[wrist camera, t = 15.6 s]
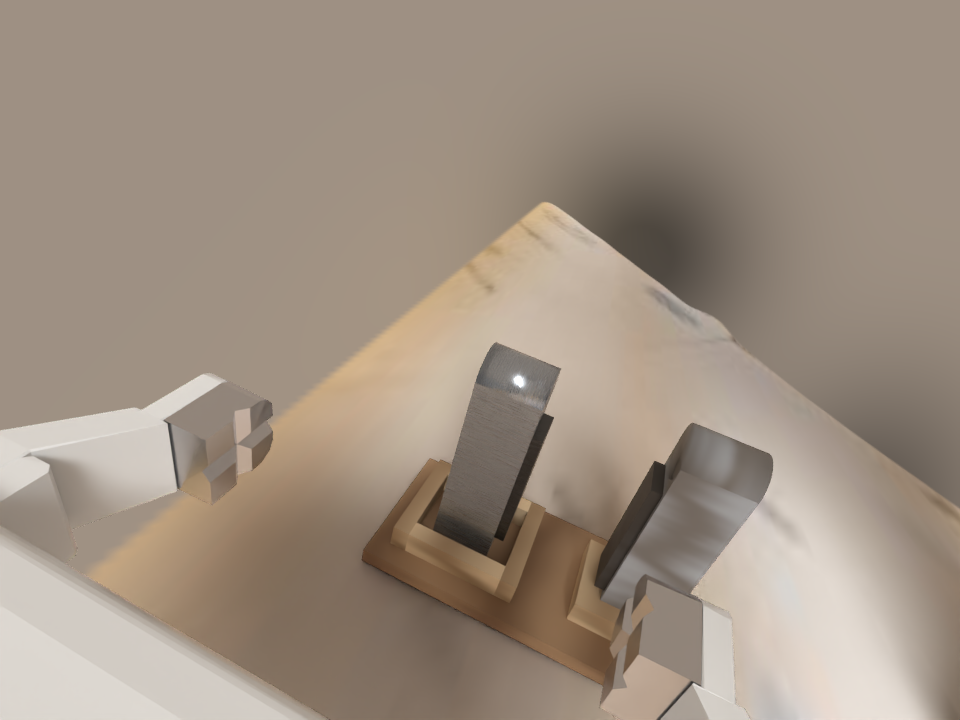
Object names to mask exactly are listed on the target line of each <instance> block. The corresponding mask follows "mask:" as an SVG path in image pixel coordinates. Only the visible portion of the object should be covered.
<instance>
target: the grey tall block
mask: <svg viewBox="0 0 960 720" xmlns="http://www.w3.org/2000/svg"><path fill="white" fill-rule="evenodd" d="M560 371H561V369H560V368H558V367H556V366H553V365H551V364H548V363H546V362H543V361H541V360H538V359H536V358H533V357H531V356H528V355H526V354H524V353H521V352H519V351H516V350H514V349H511V348H509V347H506V346H504V345H501V344H499V343H494V344H493V345H492V347H491V348H490V350H489V352H488V353H487V355H486V357H485V359H484V361H483V364H482V366H481V368H480V371H479V373H478V376H477V379H476V382H475V386H474V389H473V393H472V396H471V400H470V403H469V407H468V410H467V414H466V417H465V421H464V424H463V428H462V431H461V434H460V438H459V441H458V445H457V448H456V452H455V455H454V459H453V462H452V466H451V469H450V473H449V476H448V480H447V483H446V487H445V490H444V494H443V497H442V501H441V504H440V508H439V511H438V515H437V518H436V521H435V525H434V528H433V531H435V532H437V533H439V534H441V535H443V536H445V537H447V538H449V539H451V540H453V541H455V542H457V543H459V544H462V545H464V546H466V547H468V548H470V549H472V550H474V551H476V552H478V553H480V554H482V555H484V556H487V554H488V552H489V550H490V547H491V545H492V543H493V541H494V538H497V539H499V540H501V541H504V538H505V536H506V534H507V531H508V529H509V527H510V524H511V522H512V520H513V517H514V515H515V513H516V510H517V508H518V505H519V503H520V500H521V498H522V495H523V493H524V490H525V488H526V485H527V483H528V481H529V478H530V476H531V473H532V471H533V468H534V466H535V463H536V461H537V458H538V456H539V453H540V451H541V449H542V446H543V444H544V441H545V439H546V436H547V434H548V431H549V429H550V426H551V424H552V422H553V419H554V417H551V416H549V415H547V414H544V412H545V410H546V407H547V405H548V402H549V400H550V397H551V394H552V392H553V389H554V387H555V384H556V382H557V379H558V376H559V374H560Z"/></svg>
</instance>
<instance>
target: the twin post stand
mask: <svg viewBox="0 0 960 720" xmlns="http://www.w3.org/2000/svg"><path fill="white" fill-rule="evenodd" d="M451 466H452V465H451V464H449V463H447V462H445V461H443V460H440V461H439V462H437V461H435V460H433V459H431V458H430V459H429V460H428V462H427V463H426V464H425V466H424V467H423V468H422V470H421V471H420V473H419V474H418V475H417V477H416V478H415V479H414V481H413V482H412V484H411V485H410V486H409V488H408V489H407V490H406V492H405V493H404V495H403V496H402V497H401V499H400V500H399V502H398V503H397V504H396V506H395V507H394V508H393V510H392V511H391V513H390V514H389V515H388V517H387V518H386V519H385V521H384V522H383V524H382V525H381V526H380V528H379V529H378V530H377V532H376V533H375V535H374V536H373V537H372V539H371V540H370V541H369V543H368V544H367V546H366V547H365V548H364V550H363V556H362V560H363V561H365V562H366V563H368V564H370V565H372V566H374V567H376V568H378V569H380V570H382V571H384V572H386V573H388V574H390V575H391V576H393V577H395V578H397V579H399V580H401V581H403V582H405V583H407V584H409V585H411V586H413V587H415V588H416V589H418V590H420V591H422V592H424V593H426V594H428V595H430V596H432V597H434V598H436V599H438V600H440V601H441V602H443V603H445V604H447V605H449V606H451V607H453V608H455V609H457V610H459V611H461V612H463V613H465V614H467V615H468V616H470V617H472V618H474V619H476V620H478V621H480V622H482V623H484V624H486V625H488V626H490V627H492V628H493V629H495V630H497V631H499V632H501V633H503V634H505V635H507V636H509V637H511V638H513V639H515V640H517V641H518V642H520V643H522V644H524V645H526V646H528V647H530V648H532V649H534V650H536V651H538V652H540V653H542V654H543V655H545V656H547V657H549V658H551V659H553V660H555V661H557V662H559V663H561V664H563V665H565V666H567V667H569V668H570V669H572V670H574V671H576V672H578V673H580V674H582V675H584V676H586V677H588V678H590V679H592V680H594V681H595V682H597V683H599V684H601V685H603V683H604V677H605V671H606V670H607V668H608V667H609V665H610V664H611V662H612V661H613V659H614V658H613V656H612V653H611V651H610V643H611V637H612V633H613V629H614V625H615V622H616V620H617V617H618V615H619V612H620V610H621V608H622V607H623V605H624V603H625V601H626V600H627V599H630V598H634V594H635V587H636V584H637V583H638V581H639V580H640V578H641V577H642V576H643V575H645V574H647V575H649V576H651V577H653V578H656V579H658V580H660V581H662V582H665V583H667V584H669V585H671V586H673V587H676V588H678V589H680V590H682V591H685V592H687V593H689V594H690V592H691V591H692V590H693V589H694V587H695V586H696V585H697V583H698V582H699V581H700V579H701V578H702V577H703V576H704V574H705V573H706V572H707V570H708V569H709V568H710V566H711V565H712V564H713V563H714V561H715V560H716V559H717V557H718V556H719V555H720V553H721V552H722V551H723V550H724V548H725V547H726V546H727V544H728V543H729V542H730V540H731V539H732V538H733V537H734V535H735V534H736V533H737V531H738V530H739V529H740V527H741V526H742V525H743V524H744V522H745V521H746V520H747V518H748V517H749V516H750V514H751V513H752V512H753V511H754V509H755V508H756V507H757V505H758V504H759V503H760V501H761V500H762V498H763V497H764V495H765V493H766V491H767V488H768V486H769V483H770V480H771V476H772V471H773V459H772V456H771V455H770V454H768V453H766V452H764V451H761V450H759V449H756V448H754V447H751V446H749V445H746V444H744V443H741V442H739V441H737V440H734V439H732V438H729V437H727V436H724V435H722V434H719V433H717V432H715V431H712V430H710V429H707V428H705V427H702V426H700V425H697V424H695V423H691V424H690V425H689V426H688V427H687V428H686V430H685V431H684V433H683V434H682V436H681V438H680V439H679V441H678V443H677V445H676V446H675V448H674V450H673V451H672V453H671V455H670V456H669V458H668V460H667V461H666V463H665V465H663V464H661V463H659V462H656V461H654V463H653V465H652V466H651V468H650V470H649V472H648V473H647V475H646V477H645V479H644V480H643V482H642V484H641V486H640V487H639V489H638V491H637V493H636V494H635V496H634V498H633V499H632V501H631V503H630V505H629V506H628V508H627V510H626V512H625V513H624V515H623V517H622V519H621V520H620V522H619V524H618V526H617V527H616V529H615V531H614V533H613V534H612V536H611V538H610V539H609V541H607V540H605V539H603V538H600V537H598V536H596V535H594V534H592V533H590V532H588V531H585V530H583V529H581V528H579V527H577V526H575V525H573V524H570V523H568V522H566V521H564V520H562V519H560V518H557V517H555V516H553V515H551V514H549V513H547V512H545V509H546V508H544V507H542V506H540V505H538V504H535V503H533V502H531V501H529V500H527V499H525V498H521V500H520V503H519V505H518V508H517V510H516V513H515V515H514V517H513V520H512V522H511V524H510V527H509V529H508V531H507V534H506V536H505V538H504V541H501V540H499V539H497V538H494V541H493V543H492V545H491V547H490V550H489V552H488V554H487V556H484V555H482V554H480V553H478V552H476V551H474V550H472V549H470V548H468V547H466V546H464V545H462V544H459V543H457V542H455V541H453V540H451V539H449V538H447V537H445V536H443V535H441V534H439V533H437V532H435V531H433V528H434V525H435V521H436V518H437V515H438V511H439V508H440V504H441V501H442V497H443V494H444V490H445V487H446V483H447V480H448V476H449V473H450V469H451Z"/></svg>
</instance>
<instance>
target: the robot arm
mask: <svg viewBox="0 0 960 720" xmlns="http://www.w3.org/2000/svg"><path fill="white" fill-rule="evenodd" d="M272 415H273V414H272V403H271V402H269V401H268V400H266V399H264V398H262V397H260V396H258V395H256V394H254V393H252V392H250V391H248V390H246V389H244V388H242V387H240V386H238V385H236V384H234V383H231V382H229V381H227V380H225V379H223V378H221V377H219V376H217V375H215V374H213V373H208V374H202V375H200V376H199V377H197V378H195V379H193V380H192V381H190V382H188V383H187V384H185V385H183V386H182V387H180V388H178V389H176V390H175V391H173V392H171V393H170V394H168V395H166V396H165V397H163V398H161V399H159V400H158V401H156V402H154V403H153V404H151V405H149V406H148V407H146V408H144V409H143V410H140V409H137V408H129V409H124V410H118V411H112V412H106V413H100V414H95V415H89V416H83V417H77V418H71V419H66V420H59V421H54V422H48V423H42V424H36V425H30V426H25V427H19V428H13V429H7V430H1V431H0V720H330V719H328V718H327V717H325V716H323V715H321V714H320V713H318V712H316V711H315V710H313V709H311V708H310V707H308V706H306V705H305V704H303V703H301V702H299V701H298V700H296V699H294V698H293V697H291V696H289V695H288V694H286V693H284V692H283V691H281V690H279V689H277V688H276V687H274V686H272V685H271V684H269V683H267V682H266V681H264V680H262V679H261V678H259V677H257V676H255V675H254V674H252V673H250V672H249V671H247V670H245V669H244V668H242V667H240V666H239V665H237V664H235V663H233V662H232V661H230V660H228V659H227V658H225V657H223V656H222V655H220V654H218V653H217V652H215V651H213V650H211V649H210V648H208V647H206V646H205V645H203V644H201V643H200V642H198V641H196V640H195V639H193V638H191V637H189V636H188V635H186V634H184V633H183V632H181V631H179V630H178V629H176V628H174V627H172V626H171V625H169V624H167V623H166V622H164V621H162V620H161V619H159V618H157V617H156V616H154V615H152V614H150V613H149V612H147V611H145V610H144V609H142V608H140V607H139V606H137V605H135V604H133V603H132V602H130V601H128V600H127V599H125V598H123V597H122V596H120V595H118V594H117V593H115V592H113V591H111V590H110V589H108V588H106V587H105V586H103V585H101V584H100V583H98V582H96V581H94V580H93V579H91V578H89V577H88V576H86V575H84V574H83V573H81V572H79V571H78V570H76V569H74V568H72V567H71V566H69V565H67V564H66V563H67V562H68V561H70V560H71V559H72V558H73V557H75V556H76V553H77V549H78V548H77V545H76V542H75V539H74V536H73V533H72V529H75V528H78V527H81V526H83V525H86V524H89V523H92V522H94V521H97V520H100V519H102V518H105V517H108V516H111V515H113V514H116V513H119V512H122V511H124V510H127V509H130V508H132V507H135V506H138V505H141V504H144V503H146V502H149V501H152V500H155V499H157V498H160V497H163V496H166V495H168V494H171V493H174V492H177V491H178V490H177V489H179V490H181V491H183V492H185V493H187V494H190V495H192V496H194V497H196V498H198V499H200V500H202V501H204V502H206V503H208V504H210V505H213V504H214V503H215V502H216V501H218V500H219V499H220V498H221V497H222V496H223V495H225V494H226V493H227V492H228V491H229V490H230V489H232V488H233V487H234V486H235V485H236V484H237V478H238V474H242V473H245V472H249V471H252V470H253V469H254V468H256V467H257V466H258V465H259V464H260V463H261V462H262V461H263V459H264V458H265V456H266V455H267V453H268V452H269V450H270V447H271V444H272V440H273V431H272V429H271V427H270V425H269V424H268V422H267V420H268V419H269V418H270V417H271V416H272ZM610 651H611V653H612V656H613V658H614V659H613V661H612V662H611V664H610V665H609V667H608V668H607V670H606V671H605V677H604V683H603V689H602V695H601V701H600V707H599V708H601V709H602V710H604V711H606V712H608V713H610V714H611V715H613V716H615V717H617V718H619V719H620V720H751V719H750V717H749V715H748V713H747V711H746V710H745V709H744V708H742V707H740V706H738V705H737V704H736V691H735V671H734V650H733V630H732V617H731V615H730V613H729V612H728V611H726V610H724V609H722V608H719V607H717V606H715V605H713V604H711V603H708V602H706V601H704V600H702V599H699V598H698V597H696V596H694V595H691V594H689V593H687V592H685V591H682V590H680V589H678V588H676V587H673V586H671V585H669V584H667V583H665V582H662V581H660V580H658V579H656V578H653V577H651V576H649V575H647V574H645V575H643V576H642V577H641V578H640V580H639V581H638V583H637V584H636V587H635V594H634V598H630V599H627V600H626V601H625V603H624V605H623V607H622V608H621V610H620V612H619V615H618V617H617V620H616V622H615V625H614V629H613V633H612V637H611V643H610Z"/></svg>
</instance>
